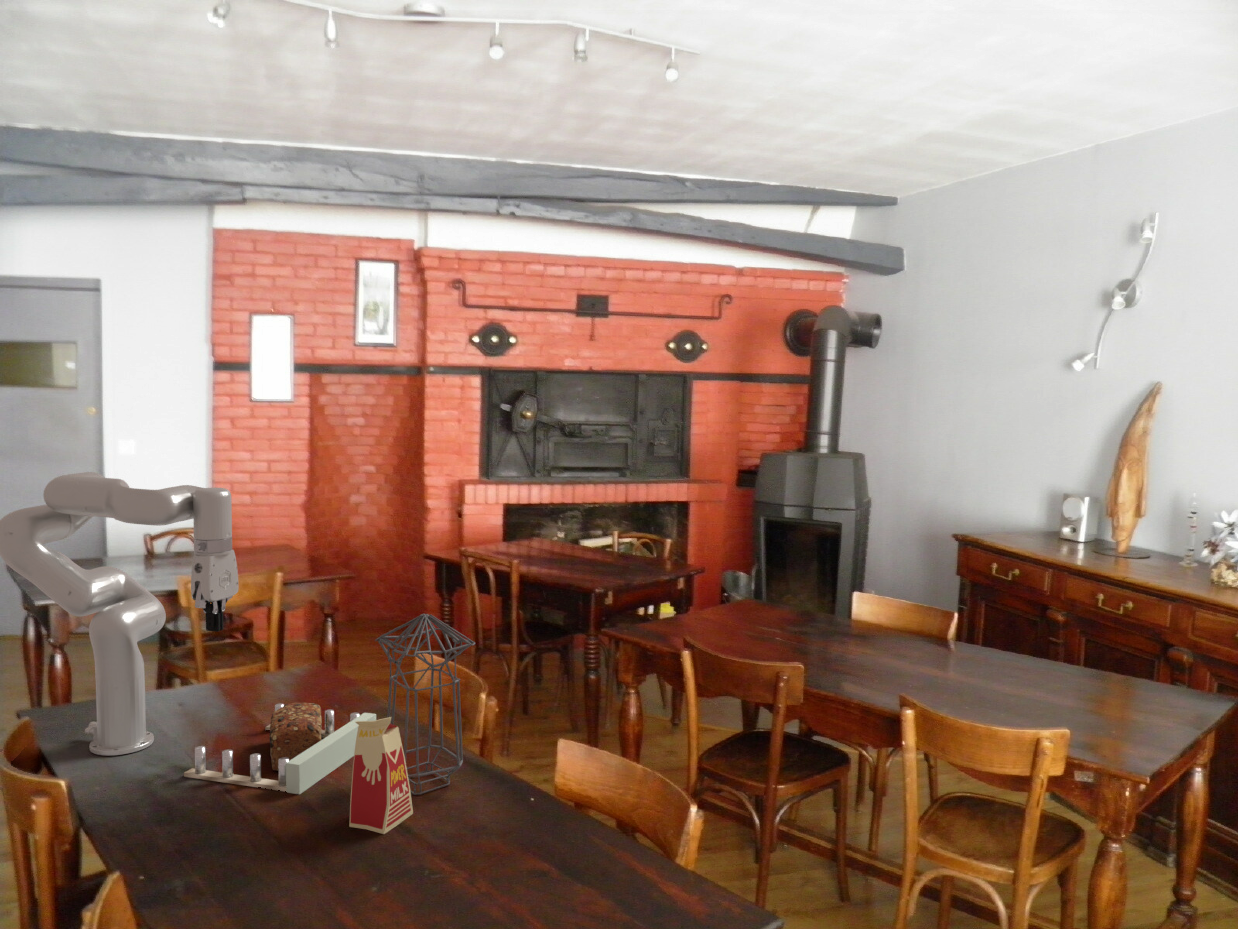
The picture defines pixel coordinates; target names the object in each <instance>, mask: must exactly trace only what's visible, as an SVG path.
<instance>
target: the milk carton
mask: <svg viewBox="0 0 1238 929" xmlns="http://www.w3.org/2000/svg"><path fill="white" fill-rule="evenodd" d="M391 718H392V716H390V717H388V718H387V717H384V718H380V719H376V720H375V721H356V723H357V724H358V725H359V726H358V732H357V737H356V743H355V752H354V756H353V762H352V773H351V787H350V800H349V804H350V805H349V824H348V825H349V828H356V829H362V830H368V831H371V832H375V833H377V834H378V833H379V834H381V835H385V834H387V833H388V832H390V831H391V830H392V829H394V828H395V827H397V826H398V825H400V824H401V823H403V822H404V821H405V820H407V819H408V818H409V817H410V816H412V815H413V814H414V809H413V802H412V793H411V792H410V790H411V786H410V781H409V779H410V778H409V779H408V775H409V773H408V770H407V768H408V766H407V761H406V762H405V756H404V746H403V743H402V738H401V734H400V728H399V726H398V725H395V724H394V725H393V724H391Z"/></svg>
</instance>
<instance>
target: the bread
mask: <svg viewBox="0 0 1238 929" xmlns="http://www.w3.org/2000/svg"><path fill="white" fill-rule="evenodd" d="M322 723H323V722H322V708H321V705H319V704H318V703H315V702H292V703H286V704H284V706H283V707H281V708H280V709H278V710H277V711H275V710H274V711H273V713H272V714H271V718H270V724H269V725H270V731H269V749H270V750H269V751H270V756H269V757H271V759H270V760H271V767H272V768H271V769H272V770H273V771H278V772H279V765H278V760H279V759H280V758H283V757H288V758H289V761H290V760H291V759H293V758H295V757H296V756H298V755H299V754H301V753H302V752H304V751H305V750H307V749H309V748H310V747H312V746H313V745H315V744H316V743H318V742H319V741H321V740H322V738H321V731H322V730H323V729H322Z"/></svg>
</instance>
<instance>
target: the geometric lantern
mask: <svg viewBox="0 0 1238 929" xmlns="http://www.w3.org/2000/svg"><path fill="white" fill-rule="evenodd" d="M407 626H408V627H407ZM435 626H436V627H435ZM405 627H407V628H405ZM428 627H429V629H428ZM403 628H405V629H404V631H402V633H400V635H392V634H393V633H395V632H397V631H399V630H401V629H403ZM415 628H416V630H415V631H414V629H415ZM413 631H414V633H413V634H411V633H412V632H413ZM436 631H441V632H442V634H443V637H444V638H445V641H446V643H447V645H448V647H449V648H448V649H445V647H444V644H443V643H442V641H441V640H440V637H439V636H438V634H437V632H436ZM423 635H425V638H424V639H423V640H422V641H421V639H422V636H423ZM432 635H433V636H434V637H435V640H436V642H437V644H438V645H439V646H440V648H441V650H432V649H431V641H430V638H431V636H432ZM408 638H411V639H410V641H409V643H408V644H407V641H408ZM416 638H417V641H416V646H415V647H412V645H413V643H414V641H415V640H416ZM449 638H451V641H452V642H453V647H452V643H451V641H450V640H449ZM391 639H394V640H391ZM399 640H400V641H399ZM374 641H375V642H378V644H379V645H380V647H381V648H382V650H383V651H384V653H385V655H386V656H387V661H388V662H389V685H388V686H389V687H388V697H387V698H388V699H387V700H388V702H387V713H386V714H387V715H386V718H388V717H392V718H391V722H390V724H393V725H395V724H394V722H395V721H394V720H395V711H396V698H397V685H399V686H400V687H402V688H403V689H405V690H406V700H405V702H406V703H405V717H404V718H405V719H404V739H403V741H404V742H403V751H404V756H405V762H406V763H407V754H408V753H413V752H415V764H414V765H412V766H411V765H410V766H407V771H408V770H411V769H414V768H415V772H416V773H414V774H408V779H409V783H411V784H412V785H413V791H412V789H410V792H411V795H414V796H418V795H424V794H427V793H429V792H431V791H432V792H433V791H435V790H438V789H440V788H444V787H447V786H450V783H451V775H452V774H454V773H455V772H457V771H458V770H459V769H460V768H461V767H462V764H463V762H464V754H463V753H464V751H463V735H462V734H463V732H462V730H463V729H462V712H461V711H462V707H461V688H460V687H461V684H460V681H461V678H458V677H457V656H461V655H462V653H463V652H464V651H465V650H467V649H469V648H470V647H473V646H474V645H476V642H475V641H473V640H472V639H470V638H469V637H467V636H466V635H464V634H462V633H461V632H459V631H458V630H456V629H455V628H453V627H451V626H450V625H448V624H447V623H446V622H445V623H444V621H442V620H440V619H439V618H437V617H436V616H434V615H433V614H428V613H422V614H420V615H418V616H416V617H414V618H413V619H410V620H409V621H407V622H405V623H403V624H401V625H400V626H397V627H395V628H394V629H392V630H389V631H388V632H386V633H383V634H381V635H379V637H377V638H376V639H375V640H374ZM398 641H399V642H398ZM403 643H404V646H403V645H402V644H403ZM425 643H426V644H427V650H420V649H421V647H422V646H423V645H424V644H425ZM463 643H465V644H463ZM385 645H387V647H385ZM457 645H459V646H457ZM394 646H395V647H394ZM399 648H400V649H402V650H398V649H399ZM390 649H391V654H392V656H391V655H390ZM457 650H458V651H457ZM410 651H414V652H413V653H412V654H409V652H410ZM395 653H397V654H400V657H398V658H397V659H396V657H395ZM453 653H454V654H453ZM425 654H427V655H429V656H430V660H431V662H429V661H428V659H427V658H426V657H425V656H424V655H425ZM437 654H438V655H439V654H444V661H443V662H439V663H436V664H434V655H437ZM452 654H453V655H452ZM420 655H421V656H420ZM405 657H413V658H415V657H416V658H417V659H418V660H420V661H421V662H423V663H425V664H426V665H428V667H427V668H423V669H418V670H412V671H407V672H403V671H402V669H401V665H402V662H403V658H405ZM452 660H454V675H453V672H452V671H451V668H450V666H449V664H448V663H450V661H452ZM392 663H393V664H394V665H395V666H396V670H395V673H394V674H393V675H392ZM437 667H440V668H437ZM444 667H446V669H447V671H446V670H444V669H443V668H444ZM428 671H430V672H431V673H430V675H431V676H430V687H429V686H428V687H424V688H416V687H417V685H418V684H419V683H420V681H421V680H422V679H423V677H424V676H425V674H427V672H428ZM420 672H423V673H422V674H421V676H420V677H419V678H418V680H417V682H416V683H415V684H414V686H413V687H410V686H409V684H408V682H407V680H406V677H405V675H409V674H415V673H420ZM435 672H438V685H434V683H435V682H434V680H435V675H434V674H435ZM442 673H443V674H445V675H447V676H449V677H450V679H451V681H452V682H450V683H444V684H443V682H442V680H443V679H442ZM398 676H400V677H401V679H402V681H403V683H404V684H402V683H400V682H399V681H398ZM447 686H452V701H453V702H452V704H453V716H454V732H455V734H454V735H455V749H456V750H455V752H456V754H455V753H453V752H452V751H450V750H449V749H447V748H446V747H444V726H443V725H444V723H443V720H444V718H443V687H447ZM436 688H438V692H439V693H438V696H439V697H438V698H439V732H440V734H439V735H440V737H439V738H440V745H436V744H435V745H434V744H432V730H433V729H432V726H433V724H432V723H433V706H434V705H433V704H434V702H433V700H434V699H433V698H434V689H436ZM429 689H430V694H429V695H430V698H429V716H428V717H429V721H428V723H429V724H428V739H427V740H428V741H427V745H423V746H419V719H418V717H419V715H418V710H419V709H418V705H419V704H418V692H421V691H426V690H429ZM392 690H393V693H392ZM456 690H457V691H456ZM410 691H411V692H414V728H415V730H414V733H415V736H414V737H415V748H412V749H408V732H409V730H408V729H409V728H408V727H409V713H410V712H409V710H410V709H409V707H410ZM456 692H457V694H456ZM392 694H393V696H392ZM456 696H457V698H456ZM391 706H392V707H391ZM431 748H432V749H438V751H437V753H436V755H435V756H434V757H433V760H432V761H431V762H430V750H431ZM425 749H427V756H426V761H425V762H422V763H420V762H419V761H420V760H419V757H420V756H419V751H420V750H425ZM442 751H444V752H445V753H447V754H448V755H450V756H452V757H453V758H455V759H456V765H453V766H449V767H444V768H443V767H441V766H439V765H438V764H437V763H434V762H435V761H436V760H437V758H438V756H439V754H440V752H442ZM424 765H425V770H423V771H420V766H424ZM428 765H430V769H429V768H428ZM434 767H436V768H438V769H436V770H434ZM443 772H445V773H446V774H444V775H442V774H440V773H443ZM434 774H435V775H436V776H437V777H434V778H430V779H425V780H423V781H421V780H420V777H421V778H422V777H425V776H429V775H430V776H431V775H434ZM411 778H417V782H415V781H413V780H412V779H411ZM439 779H440V780H441V779H442V780H444V781H446V783H445V784H442V785H438V786H436V787H432V788H430V789H428V790H427V789H426V790H423V791H422V787H423V786H422V784H426V783H428V782H432V781H435V780H436V781H437V780H439ZM417 786H419V792H417Z"/></svg>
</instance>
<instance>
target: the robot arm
mask: <svg viewBox="0 0 1238 929" xmlns="http://www.w3.org/2000/svg"><path fill="white" fill-rule="evenodd" d="M42 494H43V495H42V496H43V501H44V502H45V504H42V505H36V506H31V507H24V508H19V509H17V510H14V511H12V512H8V513H7V514H6V515H4V516H3V517H2V518H1V519H0V558H1V559H2V560H3V562H4V563H5V564H6V565H7V566H8V567H9V568H10V569H12V570H13V571H14V572H16V573H17V574H19V575H20V576H21V577H23V578H24V579H26V580H27V581H29V582H30V583H32V584H33V585H34V586H35V587H36V588H38V589H39V591H41V592H42V593H43V594H44V595H46V596H47V597H48V598H50V599H51V600H52V601H53V602H54V603H55V604H57V605H58V606H59V607H61V608H62V609H63V610H64V611H66V612H67V613H68V614H69V615H72V616H74V617H85V616H89V615H92V614H94V616H93V617H92V618H91V620H90V623H89V626H88V633H89V634H88V636H89V640H90V644H91V648H92V652H93V659H94V670H95V671H94V674H95V675H94V676H95V679H94V680H95V703H96V721H90V722H89V723H88V727H86V728H85V729H84V733H85V734H86V735H93V740H92V741H90V743H89V751H90V753H93V754H95V755H98V756H109V757H111V756H122V755H127V754H132V753H136V752H139V751H142V750H144V749H146V748H148V747H149V746H151V745H152V744H153V743H154V740H155V736H154V734H153V732H150V731H148V730H147V723H146V722H147V720H146V719H147V718H146V687H145V686H146V682H145V680H146V678H145V675H146V674H145V663H144V657H143V654H142V653H141V651H140V648H139V646H138V642H140V641H141V640H144V639H147V638H148V637H151V636H153V635H155V634H157V633H158V632H159V631H161V629H162V628H163V627H164V625H165V624H166V619H167V615H166V613H167V612H166V610H165V607H164V605H163V604H162V603H161V601H160V600H159V599H158V598H157V597H156V596H155V595H153V594H152V592H150V591H149V590H147V589H146V588H145V587H144V586H143V585H141V584H140V583H139V582H138V581H137V580H136V579H134V578H133V577H132V576H130V575H129V574H128V573H126V572H125V571H124V570H121V569H120V568H117V567H114V566H107V565H105V566H99V567H95V568H94V567H93V568H90V569H85V568H83V567H81V565H78V564H77V563H76V562H74V561H73V560H72V559H71V558H69V557H68V556H67V555H66V554H64V553H62V552H60V551H57V550H55V549H53V548H51V547H49V546H46V545H45V544H48V543H53V542H58V541H61V540H65V539H67V538H69V537H71V536H72V535H74V534H75V533H76V532H78V531H79V530H80V529H81V528H82V527H83V526H84V525H85V524H87V523H88V522H89V521H90V520H91V519H92V518H93V517H98V518H107V519H108V518H109V519H114V520H115V521H119V522H121V523H124V524H125V523H126V524H131V525H132V524H133V525H145V526H161V527H162V526H168V525H172V524H174V523H179V522H184V521H189V520H193V552H194V554H193V557H192V563H191V573H190V574H191V576H190V593H191V599H192V600H193V601H195V603H194V608H196V609H202V611H203V613H204V614H205V631H207V632H208V631H209V632H216V633H217V632H221V631H223V630H224V612H225V610H226V606H227V605H226V604H227V602H228V601H230V600H231V599H232V598H233V597H234V596H235V595H237V593H238V592H239V587H240V586H239V571H238V570H239V569H238V562H237V557H236V553H235V549H233V517H232V516H233V511H232V510H233V508H232V506H233V505H232V502H233V501H232V493H231V491H230V490H229V489H227V488H224V487H201V486H197V485H189V484H186V485H185V484H184V485H183V484H182V485H177V486H170V487H165V488H161V489H146V488H145V489H144V488H133V487H130V485H129V484H128V483H127V482H126V481H125V480H124V479H121V478H111V477H105V476H104V475H102V474H100V473H98V472H93V471H86V472H85V471H83V472H78V473H77V472H76V473H70V474H64V475H59V476H57V477H54V478H53V479H51V480H50V481H49V482H48V483H47V484H46V485H45V488H44V490H43V493H42Z"/></svg>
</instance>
